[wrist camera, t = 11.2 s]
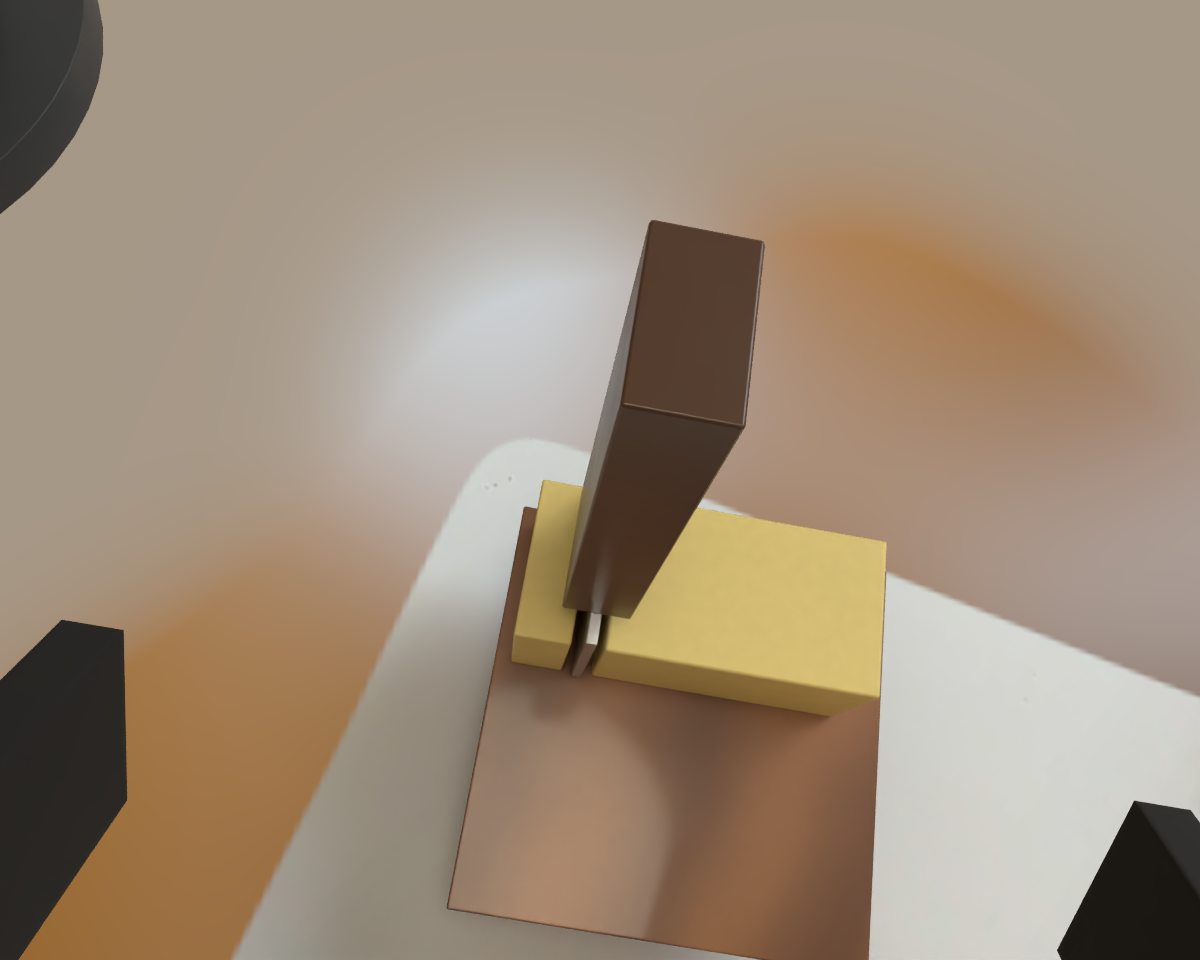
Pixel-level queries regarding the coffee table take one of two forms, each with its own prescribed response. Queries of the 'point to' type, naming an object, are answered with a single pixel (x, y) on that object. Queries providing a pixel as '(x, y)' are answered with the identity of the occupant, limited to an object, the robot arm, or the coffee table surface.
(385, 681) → the coffee table surface
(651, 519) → the knife
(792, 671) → the butter
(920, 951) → the coffee table surface
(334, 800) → the coffee table surface
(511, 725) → the board
